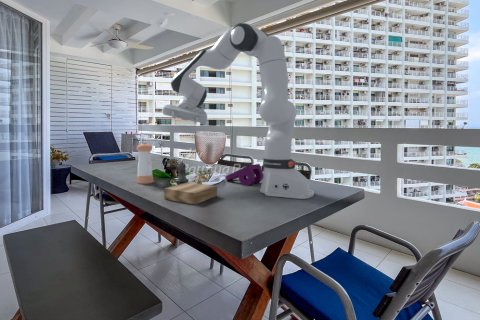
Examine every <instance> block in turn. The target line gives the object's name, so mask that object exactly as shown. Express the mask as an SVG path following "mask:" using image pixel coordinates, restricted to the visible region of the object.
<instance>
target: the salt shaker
mask: <svg viewBox="0 0 480 320" xmlns="http://www.w3.org/2000/svg"><path fill="white" fill-rule="evenodd" d="M152 149H153V147H152V145H150V144H149V143H148V144H147V143H146V142H142V143H140V144H138V145H137V146H136V151H138V153H137V154H138V155H137V157H138V159H137V160H138V162H137V163H138V164H137V168H136V169H137V175H136V183H137V184H140V185H148V184H152V183H154V175H153V165H152V159H151V157H152V156H151V155H152V153H151V151H152Z"/></svg>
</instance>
